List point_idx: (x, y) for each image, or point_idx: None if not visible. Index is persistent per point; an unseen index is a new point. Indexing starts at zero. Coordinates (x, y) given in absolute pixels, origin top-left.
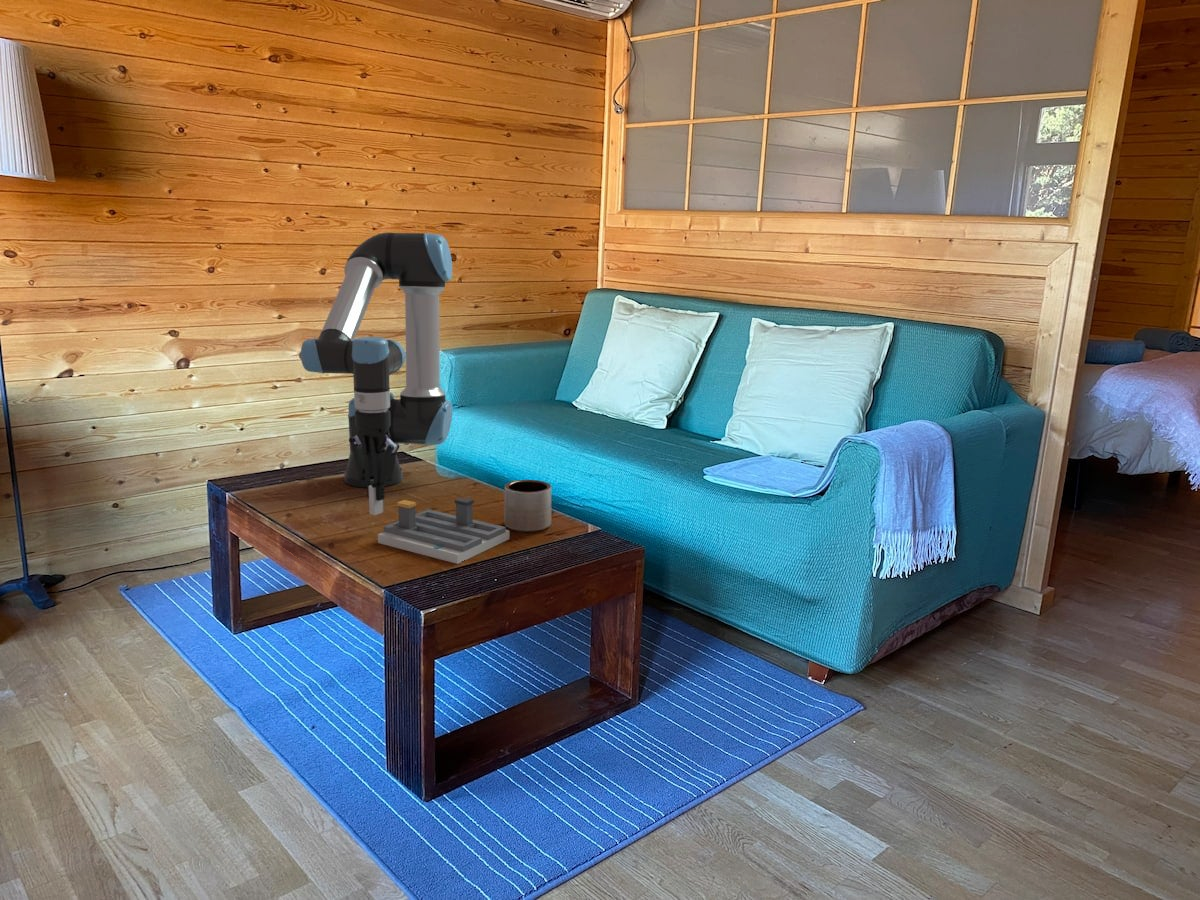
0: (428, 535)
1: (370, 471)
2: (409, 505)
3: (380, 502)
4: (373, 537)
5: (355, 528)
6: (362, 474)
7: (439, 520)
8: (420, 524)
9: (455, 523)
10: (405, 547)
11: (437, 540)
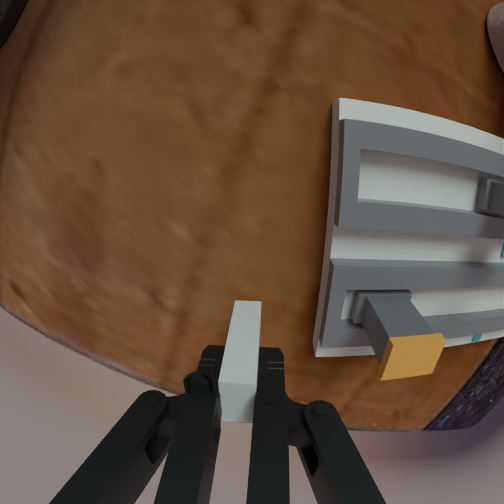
0: (459, 326)
1: (210, 471)
2: (432, 369)
3: (259, 337)
4: (273, 319)
5: (175, 291)
6: (166, 451)
7: (445, 212)
8: (412, 276)
9: (486, 208)
10: None
11: (481, 333)
